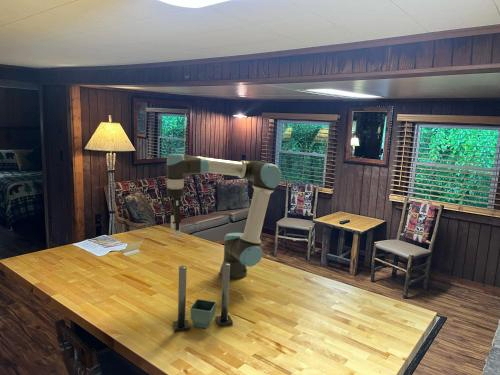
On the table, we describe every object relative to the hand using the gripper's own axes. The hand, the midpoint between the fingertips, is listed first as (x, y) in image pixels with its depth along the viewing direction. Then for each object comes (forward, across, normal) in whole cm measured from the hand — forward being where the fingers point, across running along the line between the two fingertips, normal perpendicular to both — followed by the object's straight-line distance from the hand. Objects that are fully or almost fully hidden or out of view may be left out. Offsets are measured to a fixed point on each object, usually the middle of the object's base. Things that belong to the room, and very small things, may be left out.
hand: (175, 232), depth 181 cm
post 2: (+32, +29, +17) cm, 46 cm away
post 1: (+31, +30, -1) cm, 43 cm away
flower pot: (+32, +29, +8) cm, 44 cm away
